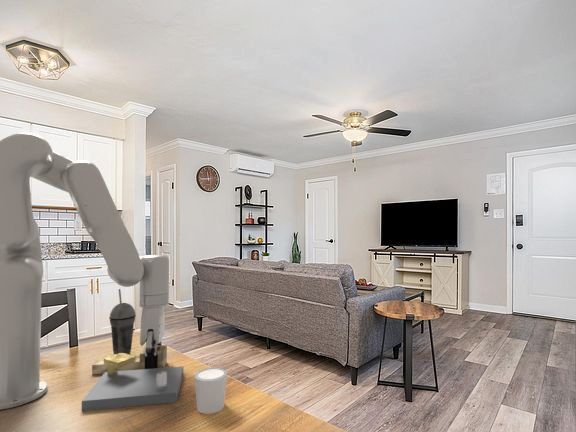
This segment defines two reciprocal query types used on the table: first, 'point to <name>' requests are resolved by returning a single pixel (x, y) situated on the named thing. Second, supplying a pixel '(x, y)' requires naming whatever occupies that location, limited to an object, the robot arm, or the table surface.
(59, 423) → the table surface
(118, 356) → the block
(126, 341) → the beverage cup
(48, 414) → the table surface
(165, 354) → the link
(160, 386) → the pintle
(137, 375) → the board
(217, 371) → the white cylinder
